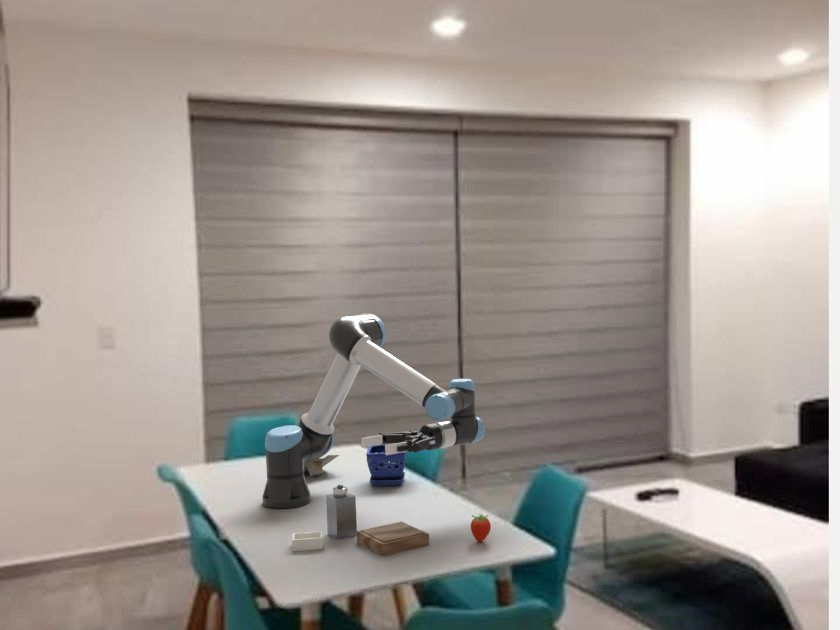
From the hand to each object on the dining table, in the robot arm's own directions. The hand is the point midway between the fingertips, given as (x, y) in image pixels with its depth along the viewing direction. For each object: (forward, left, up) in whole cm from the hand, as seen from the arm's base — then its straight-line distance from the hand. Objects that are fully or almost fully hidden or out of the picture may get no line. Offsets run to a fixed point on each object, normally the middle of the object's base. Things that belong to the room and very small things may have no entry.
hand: (373, 446), depth 248 cm
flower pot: (-10, +49, -23) cm, 56 cm away
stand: (+8, -14, -23) cm, 28 cm away
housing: (-8, -8, -23) cm, 26 cm away
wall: (-41, +58, -24) cm, 74 cm away
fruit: (+31, -10, -23) cm, 40 cm away
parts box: (-14, -19, -23) cm, 33 cm away
